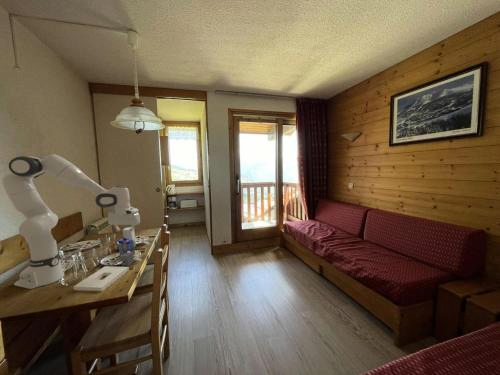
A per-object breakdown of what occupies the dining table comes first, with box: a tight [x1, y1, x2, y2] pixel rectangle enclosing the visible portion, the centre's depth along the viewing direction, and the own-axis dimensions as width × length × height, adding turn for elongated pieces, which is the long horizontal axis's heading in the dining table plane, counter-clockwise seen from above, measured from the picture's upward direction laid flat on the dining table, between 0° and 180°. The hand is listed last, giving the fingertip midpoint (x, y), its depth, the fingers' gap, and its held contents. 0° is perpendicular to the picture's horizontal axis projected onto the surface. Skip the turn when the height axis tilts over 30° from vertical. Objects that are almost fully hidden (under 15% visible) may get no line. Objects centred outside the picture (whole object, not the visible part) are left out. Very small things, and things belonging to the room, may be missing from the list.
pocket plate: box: [73, 265, 130, 292], centre depth 123 cm, size 16×22×2 cm
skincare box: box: [122, 226, 137, 248], centre depth 169 cm, size 8×7×16 cm
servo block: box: [120, 251, 135, 267], centre depth 142 cm, size 4×10×8 cm, turn 175°
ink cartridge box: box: [117, 236, 136, 256], centre depth 154 cm, size 10×6×14 cm, turn 67°
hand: (125, 231), depth 139 cm, fingers open, 8 cm apart
